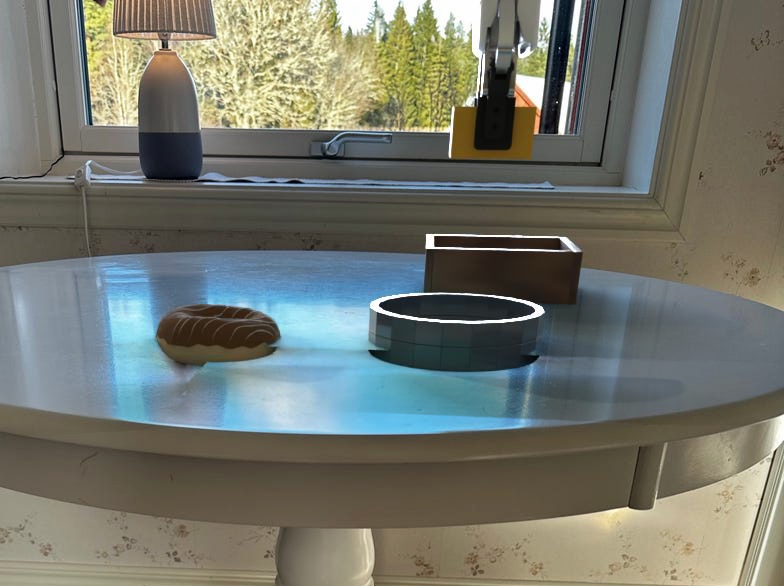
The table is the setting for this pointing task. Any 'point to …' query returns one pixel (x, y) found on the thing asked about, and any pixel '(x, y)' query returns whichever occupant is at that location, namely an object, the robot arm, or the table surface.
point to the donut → (216, 334)
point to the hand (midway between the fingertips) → (490, 146)
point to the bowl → (455, 331)
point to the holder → (504, 267)
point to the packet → (464, 149)
